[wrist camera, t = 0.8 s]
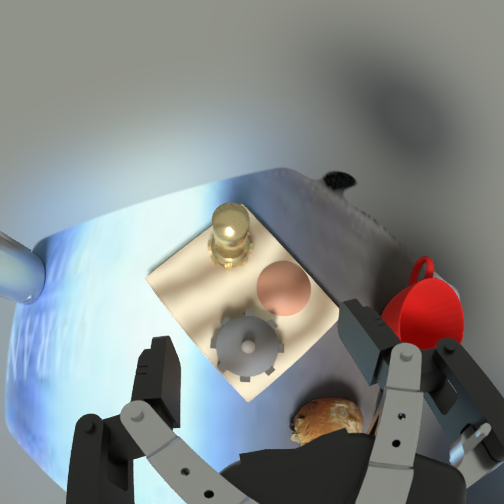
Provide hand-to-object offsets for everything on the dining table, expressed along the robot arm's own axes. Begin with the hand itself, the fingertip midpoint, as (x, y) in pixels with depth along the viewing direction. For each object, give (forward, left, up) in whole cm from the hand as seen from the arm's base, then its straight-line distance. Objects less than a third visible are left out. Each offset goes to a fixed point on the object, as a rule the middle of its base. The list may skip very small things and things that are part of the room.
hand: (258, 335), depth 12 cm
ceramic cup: (+15, +20, -26) cm, 36 cm away
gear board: (-4, +4, -25) cm, 26 cm away
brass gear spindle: (-10, +7, -24) cm, 27 cm away
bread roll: (+18, 0, -26) cm, 32 cm away
